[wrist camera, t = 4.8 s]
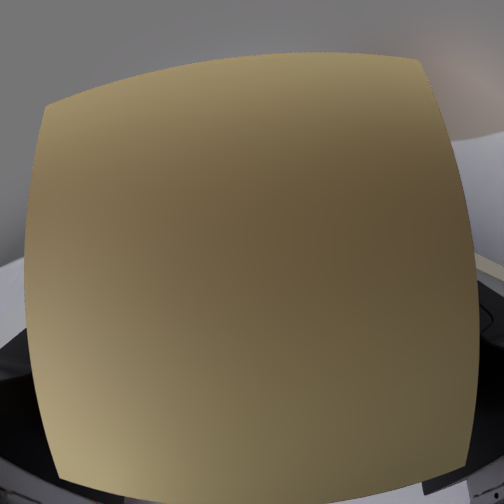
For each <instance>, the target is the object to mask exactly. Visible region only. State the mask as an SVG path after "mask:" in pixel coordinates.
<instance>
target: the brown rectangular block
mask: <svg viewBox="0 0 504 504" xmlns="http://www.w3.org/2000/svg"><path fill="white" fill-rule="evenodd" d="M24 289H25V311H26V325H27V336H28V345H29V353H30V360H31V367H32V374H33V379H34V385H35V390H36V395H37V400H38V405H39V409H40V414H41V418H42V422H43V426H44V430H45V433H46V437H47V441H48V444H49V447H50V451H51V454H52V457H53V460H54V463H55V466H56V469H57V472H58V475H59V478H61V479H64V480H67V481H70V482H73V483H76V484H79V485H83V486H86V487H90V488H93V489H97V490H101V491H104V492H108V493H112V494H117V495H121V496H126V497H131V498H136V499H141V500H146V501H152V502H159V503H166V504H327V503H333V502H340V501H346V500H351V499H357V498H362V497H366V496H371V495H375V494H380V493H384V492H388V491H392V490H396V489H399V488H403V487H406V486H410V485H413V484H416V483H420V482H423V481H426V480H429V479H432V478H435V477H437V476H440V475H443V474H446V473H448V472H451V471H453V470H456V469H458V468H461V467H463V466H465V464H466V459H467V454H468V449H469V444H470V439H471V433H472V427H473V420H474V413H475V404H476V395H477V384H478V369H479V299H478V284H477V273H476V263H475V254H474V247H473V240H472V233H471V227H470V221H469V216H468V210H467V205H466V200H465V196H464V191H463V187H462V183H461V178H460V174H459V170H458V167H457V163H456V159H455V156H454V152H453V149H452V145H451V142H450V139H449V136H448V133H447V130H446V127H445V124H444V121H443V118H442V115H441V112H440V109H439V107H438V104H437V101H436V99H435V96H434V94H433V91H432V89H431V86H430V84H429V81H428V79H427V77H426V74H425V72H424V70H423V68H422V66H421V63H420V61H419V60H415V59H409V58H402V57H393V56H382V55H371V54H356V53H281V54H265V55H253V56H243V57H234V58H226V59H218V60H211V61H205V62H199V63H193V64H188V65H182V66H177V67H172V68H167V69H162V70H158V71H154V72H150V73H145V74H141V75H138V76H134V77H130V78H126V79H123V80H119V81H116V82H112V83H109V84H106V85H102V86H99V87H96V88H93V89H90V90H88V91H84V92H81V93H78V94H76V95H73V96H71V97H68V98H65V99H62V100H60V101H57V102H55V103H52V104H50V105H47V106H46V108H45V112H44V116H43V120H42V124H41V128H40V133H39V137H38V142H37V147H36V152H35V157H34V163H33V169H32V175H31V182H30V190H29V198H28V207H27V218H26V232H25V254H24Z"/></svg>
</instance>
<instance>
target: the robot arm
mask: <svg viewBox="0 0 504 504" xmlns="http://www.w3.org/2000/svg"><path fill="white" fill-rule="evenodd" d="M477 284H478V299H479V369H478V384H477V395H476V404H475V413H474V420H473V427H472V433H471V439H470V444H469V449H468V454H467V459H466V464H465V466H463V467H461V468H458V469H456V470H453V471H451V472H448V473H446V474H443V475H440V476H437V477H435V478H432V479H429V480H426V481H423V482H422V488H423V493H424V496H425V495H428V494H431V493H434V492H437V491H440V490H442V489H445V488H447V487H450V486H452V485H455V484H457V483H460V482H462V481H464V480H466V481H467V486H468V491H469V496H470V504H504V297H503V296H502V295H500V294H499V293H497V292H495V291H494V290H492V289H491V288H489V287H488V286H486V285H485V284H483V283H482V282H480V281H479V280H477ZM91 502H95V503H98V504H124V496H121V495H117V494H112V493H108V492H104V491H101V490H97V489H93V488H90V487H86V486H83V485H79V484H76V483H73V482H70V481H67V480H64V479H61V478H59V475H58V472H57V469H56V466H55V463H54V460H53V457H52V454H51V451H50V447H49V444H48V441H47V437H46V433H45V430H44V426H43V422H42V418H41V414H40V409H39V405H38V400H37V395H36V390H35V385H34V379H33V374H32V367H31V360H30V353H29V345H28V336H27V328H25V329H24V330H23V331H22V332H20V333H19V334H18V335H17V336H16V337H14V338H13V339H12V340H11V341H9V342H8V343H7V344H6V345H5V346H3V347H2V348H1V349H0V504H91Z"/></svg>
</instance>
